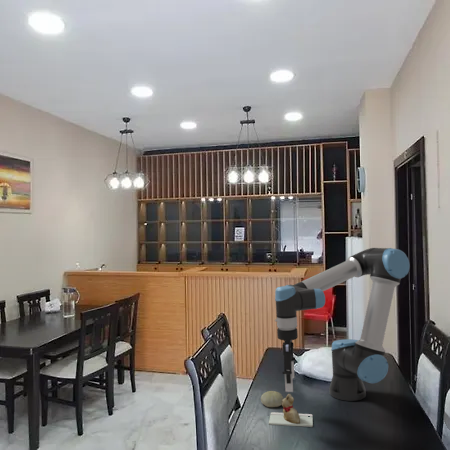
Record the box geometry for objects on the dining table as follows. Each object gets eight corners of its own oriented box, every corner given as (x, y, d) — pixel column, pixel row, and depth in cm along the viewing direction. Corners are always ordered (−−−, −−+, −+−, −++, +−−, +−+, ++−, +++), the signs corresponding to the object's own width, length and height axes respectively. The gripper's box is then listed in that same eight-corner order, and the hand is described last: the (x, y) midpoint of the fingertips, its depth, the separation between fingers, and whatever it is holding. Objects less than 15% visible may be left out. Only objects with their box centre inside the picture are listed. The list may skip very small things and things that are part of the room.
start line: (312, 415, 160) (312, 414, 160) (312, 416, 159) (312, 416, 159) (271, 413, 164) (271, 412, 164) (270, 414, 162) (270, 413, 162)
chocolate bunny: (295, 414, 160) (294, 388, 161) (301, 423, 153) (300, 396, 153) (281, 415, 160) (280, 389, 160) (287, 425, 152) (286, 397, 152)
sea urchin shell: (284, 404, 167) (270, 390, 168) (271, 417, 168) (257, 403, 169) (286, 395, 175) (272, 381, 177) (273, 408, 177) (260, 394, 178)
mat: (312, 418, 158) (312, 416, 158) (312, 426, 151) (312, 425, 151) (270, 416, 161) (270, 414, 161) (268, 424, 154) (268, 422, 154)
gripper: (279, 320, 169) (282, 372, 169) (274, 336, 145) (277, 397, 145) (298, 320, 168) (300, 372, 168) (296, 336, 143) (299, 398, 143)
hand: (290, 384), depth 156 cm, fingers open, 13 cm apart
